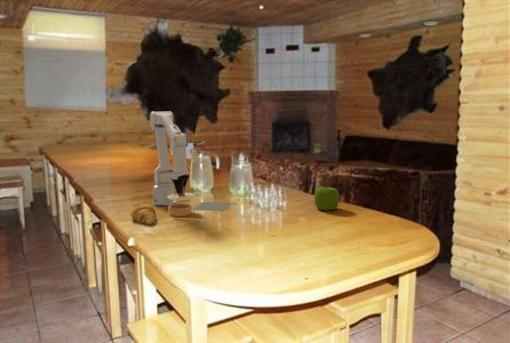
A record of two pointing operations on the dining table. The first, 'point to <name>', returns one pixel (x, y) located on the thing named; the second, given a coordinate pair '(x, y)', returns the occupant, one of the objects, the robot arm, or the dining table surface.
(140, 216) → the croissant
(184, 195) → the lid
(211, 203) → the mat
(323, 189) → the green rounded cube
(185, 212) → the brown rounded ring
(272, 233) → the dining table surface
